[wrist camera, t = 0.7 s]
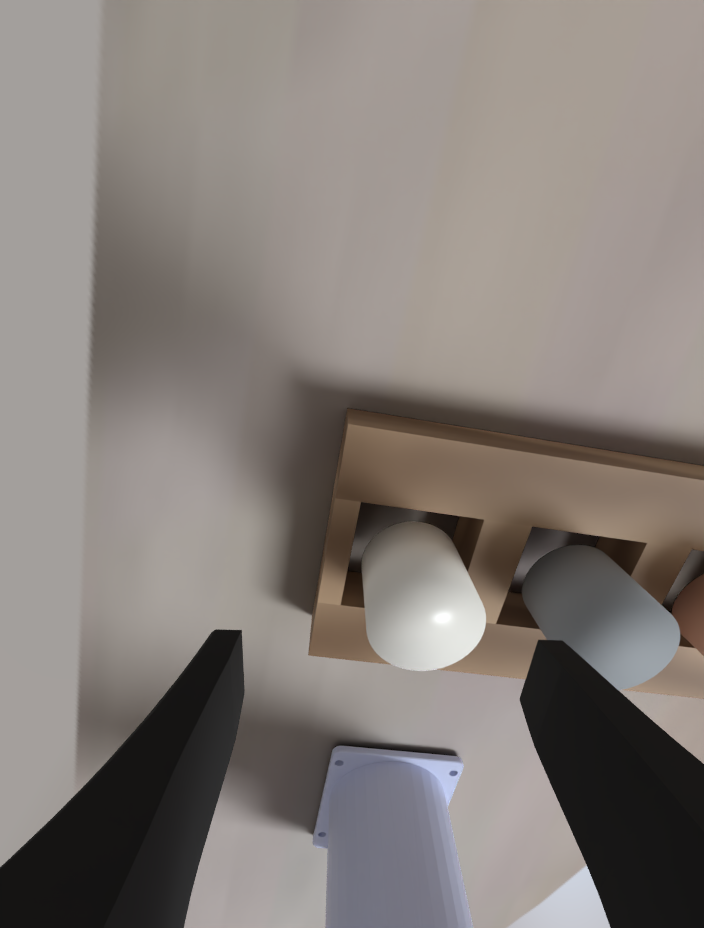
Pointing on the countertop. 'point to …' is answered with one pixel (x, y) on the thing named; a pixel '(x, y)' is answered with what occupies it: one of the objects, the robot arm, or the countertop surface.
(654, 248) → the countertop surface
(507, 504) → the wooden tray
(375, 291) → the countertop surface
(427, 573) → the white rounded cylinder
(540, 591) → the grey rounded piece
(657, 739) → the robot arm
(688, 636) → the peach rounded cylinder
